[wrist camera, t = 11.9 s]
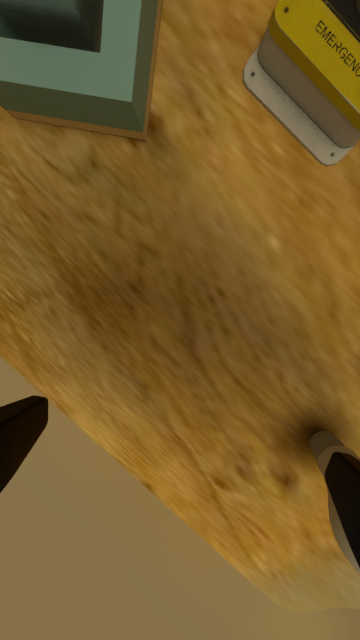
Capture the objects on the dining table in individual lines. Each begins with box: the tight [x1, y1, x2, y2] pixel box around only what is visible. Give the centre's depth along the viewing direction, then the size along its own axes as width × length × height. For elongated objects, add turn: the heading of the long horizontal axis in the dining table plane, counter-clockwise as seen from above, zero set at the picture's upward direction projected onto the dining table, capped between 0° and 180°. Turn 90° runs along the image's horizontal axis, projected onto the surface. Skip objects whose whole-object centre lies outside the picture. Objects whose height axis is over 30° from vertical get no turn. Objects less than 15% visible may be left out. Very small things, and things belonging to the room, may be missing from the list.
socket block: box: [0, 0, 163, 140], centre depth 14 cm, size 10×10×4 cm
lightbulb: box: [309, 431, 360, 574], centre depth 16 cm, size 6×6×11 cm
